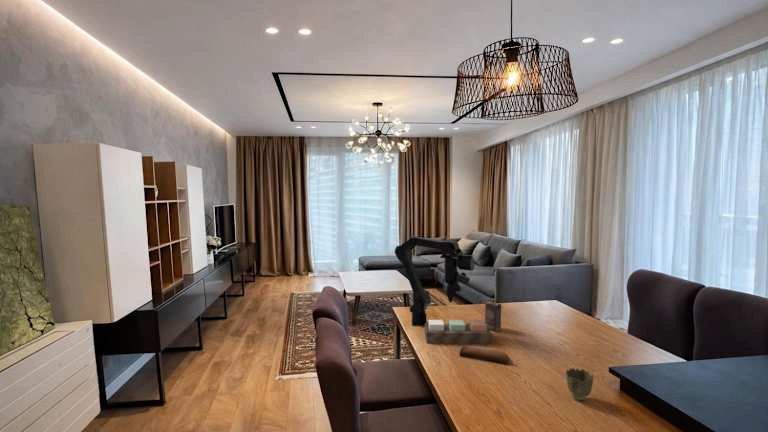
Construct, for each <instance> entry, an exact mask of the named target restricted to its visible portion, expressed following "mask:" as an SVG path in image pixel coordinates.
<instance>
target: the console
mask: <svg viewBox="0 0 768 432" xmlns="http://www.w3.org/2000/svg"><path fill="white" fill-rule="evenodd" d="M443 324H444V331H429V329H428V327H429V322H428V323H427V322H426V323H425V325H424V335H425V340H426V344H471V345H472V344H474V345H475V344H479V345H482V344H483V345H491V344H492V332H491V331H490V329H488V327H487V331H471V329H470V323H465V331H450V329H449V323H443Z"/></svg>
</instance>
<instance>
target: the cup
mask: <svg viewBox="0 0 768 432" xmlns="http://www.w3.org/2000/svg"><path fill="white" fill-rule="evenodd" d="M565 374H566V377H565V378H566V384H567V388H568V390H569V392H570V393H571V396H572V398H573V399H574V400H575V399H576V400H575V401H578V400H579V401H578V402H584V401H585V400H586V399H587V398H586V397H588V396H589V395H590V394H591V392H592V390H593V389H592V388H593V384H594V378H595V376H594V374H590V371H586V370H585V369H583V368H581V369H579V368H576V369H575V368H573V367H572V368H571V367H570V368H569V370H568V369H566V370H565Z"/></svg>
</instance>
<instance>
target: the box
mask: <svg viewBox="0 0 768 432" xmlns="http://www.w3.org/2000/svg"><path fill="white" fill-rule="evenodd" d="M484 304H485V305H484V306H485V310H484V311H485V312H484V313H485V314H484V318H485V319H484V322H485V323H486V325H487V327H488V329H489V330H491V331H493V332H499V331H501V328H502V326H501V324H502V303H498V302H494V301H487V302H485V303H484Z"/></svg>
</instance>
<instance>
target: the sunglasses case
mask: <svg viewBox="0 0 768 432" xmlns="http://www.w3.org/2000/svg"><path fill="white" fill-rule="evenodd" d="M459 356H460V357H469V358H471V357H472V358H479V359H484V360H491V361H494V362H502V363H506V364H509V361H510V355H508V354H507V353H506V352H504V351H502V350H500V349H497V348H492V347H486V346H478V345H465V346H462V347H461V348H460V351H459Z"/></svg>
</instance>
